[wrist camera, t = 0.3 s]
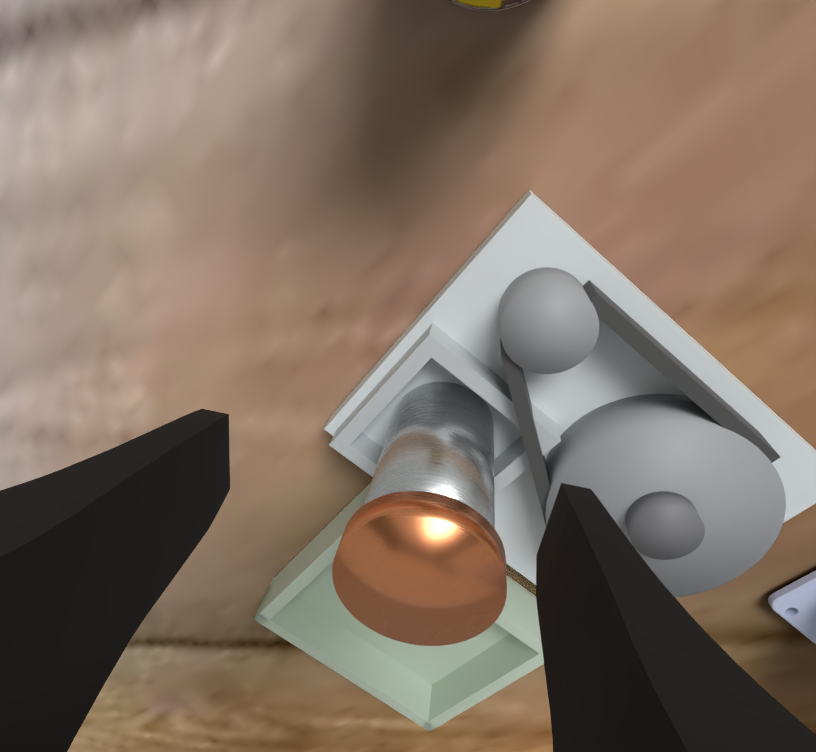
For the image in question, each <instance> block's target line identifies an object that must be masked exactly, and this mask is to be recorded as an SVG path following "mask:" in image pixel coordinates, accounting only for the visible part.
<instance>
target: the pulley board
mask: <svg viewBox="0 0 816 752" xmlns="http://www.w3.org/2000/svg"><path fill="white" fill-rule="evenodd" d="M438 381H440V382H452V383H456V384H460V385H462V386H465V387H467V388H469V389H471V390H472V391H474V392H475V393H476V394H478V395H479V396H480V397H481V398H482V399H483V400H484V401H485V403H486V404H487V406H488V407H489V409H490V411H491V413H492V417H493V420H494V497H495V530H496V532H497V533H498V535H499V537H500V539H501V541H502V543H503V546H504V550H505V555H506V563H507V564H508V565H509V566H511V567H512V568H513V569H515V570H516V571H517V572H519V573H520V574H522V575H523V576H524V577H526V578H527V579H528V580H530V581H531V582H532V583H534V584H535V585H536V555H537V552H538V549H539V546H540V543H541V541H542V538H543V535H544V532H545V529H546V526H547V523H548V520H549V517H550V514H551V511H552V509H553V506H554V503H555V500H556V497H557V494H558V491H559V488H560V485H561V483H564V484H569V485H574V486H579V487H584V488H589V489H591V490H592V491H593V492H594V493H595V495H596V496H597V497H598V499H599V500H600V502H601V503H602V504H603V506H604V507H605V508H606V510H607V511H608V513H609V514H610V515H611V517H612V518H613V520H614V521H615V522H616V524H617V525H618V526H619V528H620V529H621V530H622V532H623V533H624V535H625V536H626V537H627V539H628V540H629V541H630V543H631V544H632V545H633V547H634V548H635V549H636V550H637V552H638V553H639V554H640V556H641V557H642V558H643V560H644V561H645V562H646V563H647V565H648V566H649V567H650V568H651V570H652V571H653V572H654V573H655V575H656V576H657V577H658V578H659V580H660V581H661V582H662V583H663V584H664V586H665V587H666V588H667V589H668V590H669V591H670V593H671V594H672V595H673V596H674V597H682V596H687V595H692V594H696V593H700V592H704V591H707V590H710V589H713V588H715V587H718V586H720V585H723V584H725V583H727V582H729V581H731V580H733V579H735V578H736V577H738V576H739V575H741V574H742V573H744V572H746V571H747V570H748V569H750V568H751V567H752V566H753V565H754V564H756V563H757V562H758V561H759V560H760V559H761V558H762V557H763V556H764V555H765V554H766V553H767V551H768V550H769V549H770V547H771V546H772V545H773V543H774V542H775V540H776V538H777V536H778V534H779V532H780V530H781V527H782V524H783V523H784V522H785V521H787V520H789V519H790V518H792V517H794V516H795V515H797V514H799V513H800V512H802V511H804V510H805V509H807V508H809V507H810V506H812V505H814V504H816V450H815V449H814V448H813V447H812V446H811V445H810V444H809V443H808V442H806V441H805V440H804V439H803V438H802V437H801V436H800V435H799V434H798V433H797V432H795V431H794V430H793V429H792V428H791V427H790V426H789V425H788V424H787V423H786V422H785V421H783V420H782V419H781V418H780V417H779V416H778V415H777V414H776V413H775V412H774V411H772V410H771V409H770V408H769V407H768V406H767V405H766V404H765V403H764V402H763V401H761V400H760V399H759V398H758V397H757V396H756V395H755V394H754V393H753V392H752V391H750V390H749V389H748V388H747V387H746V386H745V385H744V384H743V383H742V382H741V381H739V380H738V379H737V378H736V377H735V376H734V375H733V374H732V373H731V372H730V371H728V370H727V369H726V368H725V367H724V366H723V365H722V364H721V363H720V362H719V361H717V360H716V359H715V358H714V357H713V356H712V355H711V354H710V353H709V352H708V351H706V350H705V349H704V348H703V347H702V346H701V345H700V344H699V343H698V342H697V341H695V340H694V339H693V338H692V337H691V336H690V335H689V334H688V333H687V332H686V331H684V330H683V329H682V328H681V327H680V326H679V325H678V324H677V323H676V322H675V321H673V320H672V319H671V318H670V317H669V316H668V315H667V314H666V313H665V312H664V311H662V310H661V309H660V308H659V307H658V306H657V305H656V304H655V303H654V302H653V301H651V300H650V299H649V298H648V297H647V296H646V295H645V294H644V293H643V292H642V291H640V290H639V289H638V288H637V287H636V286H635V285H634V284H633V283H632V282H631V281H629V280H628V279H627V278H626V277H625V276H624V275H623V274H622V273H621V272H620V271H618V270H617V269H616V268H615V267H614V266H613V265H612V264H611V263H610V262H609V261H607V260H606V259H605V258H604V257H603V256H602V255H601V254H600V253H599V252H598V251H596V250H595V249H594V248H593V247H592V246H591V245H590V244H589V243H588V242H587V241H586V240H584V239H583V238H582V237H581V236H580V235H579V234H578V233H577V232H576V231H575V230H573V229H572V228H571V227H570V226H569V225H568V224H567V223H566V222H565V221H564V220H562V219H561V218H560V217H559V216H558V215H557V214H556V213H555V212H554V211H553V210H551V209H550V208H549V207H548V206H547V205H546V204H545V203H544V202H543V201H542V200H540V199H539V198H538V197H537V196H536V195H535V194H534V193H533V192H532V191H531V190H528V191H527V192H526V193H525V195H524V196H523V197H522V198H521V199H520V200H519V201H518V203H517V204H516V205H515V206H514V207H513V208H512V209H511V211H510V212H509V213H508V214H507V215H506V216H505V217H504V219H503V220H502V221H501V222H500V223H499V224H498V225H497V227H496V228H495V229H494V230H493V231H492V232H491V233H490V235H489V236H488V237H487V238H486V239H485V240H484V241H483V243H482V244H481V245H480V246H479V247H478V248H477V249H476V251H475V252H474V253H473V254H472V255H471V256H470V257H469V259H468V260H467V261H466V262H465V263H464V264H463V265H462V267H461V268H460V269H459V270H458V271H457V272H456V273H455V275H454V276H453V277H452V278H451V279H450V280H449V281H448V283H447V284H446V285H445V286H444V287H443V288H442V289H441V291H440V292H439V293H438V294H437V295H436V296H435V297H434V299H433V300H432V301H431V302H430V303H429V304H428V305H427V307H426V308H425V309H424V310H423V311H422V312H421V313H420V315H419V316H418V317H417V318H416V319H415V320H414V321H413V323H412V324H411V325H410V326H409V327H408V328H407V329H406V331H405V332H404V333H403V334H402V335H401V336H400V337H399V339H398V340H397V341H396V342H395V343H394V344H393V345H392V347H391V348H390V349H389V350H388V351H387V352H386V353H385V355H384V356H383V357H382V358H381V359H380V360H379V361H378V363H377V364H376V365H375V366H374V367H373V368H372V369H371V371H370V372H369V373H368V374H367V375H366V376H365V377H364V379H363V380H362V381H361V382H360V383H359V384H358V385H357V387H356V388H355V389H354V390H353V391H352V392H351V393H350V394H349V396H348V397H347V398H346V399H345V400H344V401H343V402H342V404H341V405H340V406H339V407H338V408H337V409H336V410H335V412H334V413H333V414H332V415H331V417H330V419H329V421H328V423H327V424H326V426H325V428H324V430H325V431H327V432H328V433H330V434H331V435H332V436H333V438H332V440H331V442H330V444H329V446H331V447H332V448H334V449H335V450H336V451H338V452H339V453H340V454H342V455H343V456H345V457H346V458H347V459H349V460H350V461H351V462H353V463H354V464H355V465H357V466H358V467H360V468H361V469H362V470H364V471H365V472H366V473H368V474H369V475H371V476H372V477H373V476H374V473H375V470H376V467H377V464H378V461H379V458H380V455H381V452H382V449H383V446H384V443H385V440H386V437H387V434H388V431H389V428H390V425H391V422H392V419H393V416H394V413H395V410H396V408H397V405H398V404H399V402H400V400H401V399H402V398H403V397H404V396H405V395H406V394H407V393H408V392H409V391H411V390H412V389H414V388H416V387H418V386H420V385H423V384H426V383H430V382H438Z"/></svg>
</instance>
